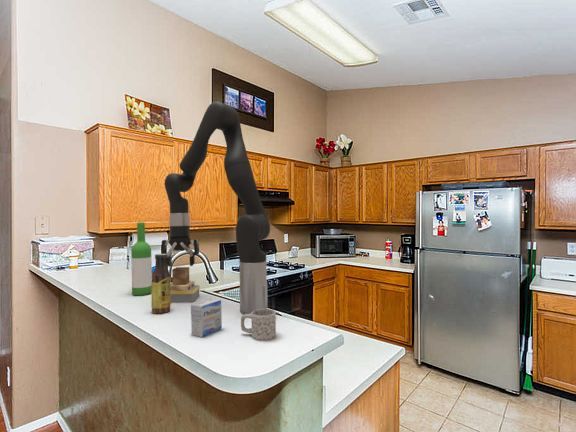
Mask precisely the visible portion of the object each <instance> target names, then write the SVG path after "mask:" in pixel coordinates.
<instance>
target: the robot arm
mask: <svg viewBox="0 0 576 432" xmlns="http://www.w3.org/2000/svg"><path fill="white" fill-rule="evenodd" d="M216 130H219V131H221V132H222V134H223V137H224V140H225V145H226V149H225V150H226V151H225V155H224V159H223V167H224V173H225V175H226V179H227V182H228V184H229V186H230V188H231V190H232V191H233V192H234V194H235V195H236V196H237V197H238V199H239V201H240V202H241V204H242V205H243V207H244V211H245V214H244V215H241V216H240V217H239V218H238V219H237V222H236V224H235V225H236V226H235V242H236V251H237V255H238V257H239V312H240V313H241V314H242V315H244V314H251V312H252V311H254V310H258V309H268V281H267V253H266V252H265V251H263V250H262V249H261V247H260V241H263V240H265V239H267V238H268V237H269V236H270V232H271V224H270V221H269V217H268V215H267V213H266V210H265V208H264V205H263V203H262V201H261V200H262V199H261V198H260V197H261V196H260V193H259V190H258V186H257V184H256V181H255V176H254V173H253V169H252V165H251V163H250V160H249V156H248V153H247V148H246V144H245V142H244V137H243V132H242V124H241V120H240V117H239V113H238V111H237V110H236V109H235V108H234V107H232V106H231V105H228V104H227V103H223V102H221V101H217V100H216V101H213V102H211V103H210V104H209V105H208V107H207V109H206V110H205V112H204V115H203V117H202V119H201V122H200V124H199V126H198V129H197V131H196V132H195V136H194V138H193V140H192V143H191V145H190V146H189V148H188V150H187V151H186V153H185V155H184V156H183V158H182V159H181V161H180V163H179V169H180V170H181V171H182V173H176V172H175V173H173V172H171V173H169V174H167V176H166V177H165V179H164V189H165V192H166V195H167V199H168V201H169V202H168V203H169V222H168V224H169V239H168V240H167V239H163V240H161V245H160V246H161V251H160V254H167V257H168V258H167V268H170V267H172V266H173V263H172V262H173V260H172V257H173V256H172V254H173V253H174V252H178V251H181V252H182V251H183V252H184V251H185V252H186V253H187V254H188V255H189V267H194V264H195V263H196V262H195V259H196V258H195V256H197V255H199V254H200V244H199V243H200V242H199V239H197V238H195V239H191V231H190V228H191V227H190V225H191V223H190V215H189V213H190V212H189V211H190V210H189V208H190V207H189V200H188V199H187V198H184V197H183V196H182V193H187V192H189V191H190V190H191V188H192V187H193V186H194V182H195V180H196V176H197V173H198V171H199V170H200V168H201V167H202V165H203V164H204V162H205V160H206V158H207V154H208V145H209V142H210V138H211V137H212V135H213V133H215V131H216ZM191 244H192V245H193V249H192V247H191V246H190V245H191ZM169 245H170V247H169V250H168V246H169Z"/></svg>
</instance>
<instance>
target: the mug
mask: <svg viewBox="0 0 576 432" xmlns="http://www.w3.org/2000/svg"><path fill="white" fill-rule="evenodd" d="M276 315H277V314H276V311H275V310H274V309H271V308H267V309H258V310H254V311H252V312H251V314H242V315H241V317H240V328H241V331H242V332H245V333H246V334H247V333H248V334H251V338H252V340H256V341H259V342H260V341H261V342H264V341H266V342H267V341H271V340H273V339H275V338H276V337H277V336H276V335H277V331H276V329H277V328H276V324H277V323H276V321H277V319H276ZM245 319H251V328H247V327H245Z"/></svg>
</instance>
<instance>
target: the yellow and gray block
mask: <svg viewBox="0 0 576 432" xmlns="http://www.w3.org/2000/svg"><path fill="white" fill-rule="evenodd" d="M200 288H201V286H200V285H199V284H198V285H194V286H192V287H191V288H188V290H187V291H171V303H194V302H195V301H196V300H197V299H198V298H199V297H200Z"/></svg>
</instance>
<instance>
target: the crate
mask: <svg viewBox="0 0 576 432" xmlns="http://www.w3.org/2000/svg"><path fill="white" fill-rule="evenodd" d="M171 273H172V276H171V277H172V279H171V280H172V283H173V285H186V284H188V283H189V281H190V266H182V267H181V266H177V267H175V268H172V269H171Z"/></svg>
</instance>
